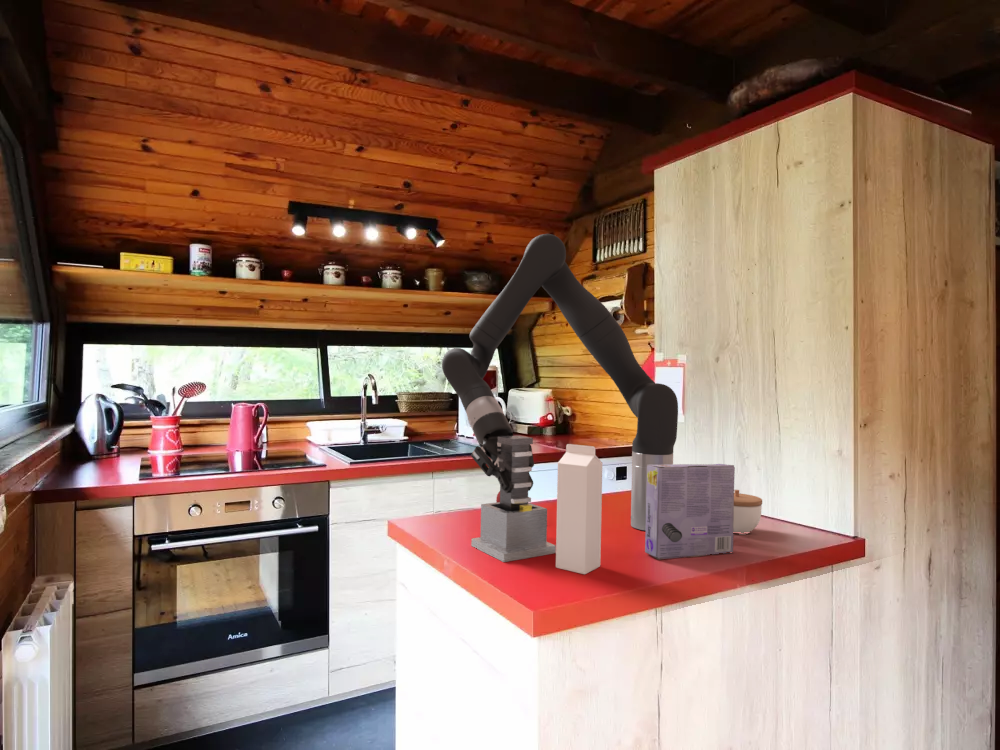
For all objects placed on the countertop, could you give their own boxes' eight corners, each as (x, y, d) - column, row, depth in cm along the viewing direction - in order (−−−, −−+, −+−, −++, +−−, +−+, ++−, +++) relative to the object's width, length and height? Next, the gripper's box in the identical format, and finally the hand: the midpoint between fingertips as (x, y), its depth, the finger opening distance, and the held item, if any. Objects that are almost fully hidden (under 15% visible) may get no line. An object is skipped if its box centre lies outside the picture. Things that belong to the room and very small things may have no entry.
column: (516, 530, 123) (518, 435, 123) (532, 536, 118) (534, 438, 118) (495, 533, 120) (497, 436, 120) (511, 539, 115) (513, 439, 116)
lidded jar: (763, 529, 140) (764, 488, 140) (759, 539, 131) (760, 496, 131) (714, 523, 145) (715, 484, 145) (707, 533, 136) (708, 491, 136)
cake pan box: (721, 546, 125) (723, 460, 125) (739, 553, 120) (741, 464, 120) (642, 554, 118) (644, 463, 118) (657, 561, 114) (659, 467, 114)
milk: (571, 560, 113) (574, 442, 114) (601, 566, 110) (603, 445, 110) (554, 568, 108) (557, 444, 109) (584, 575, 105) (587, 447, 105)
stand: (520, 538, 128) (521, 493, 128) (555, 553, 117) (556, 504, 118) (471, 545, 121) (472, 498, 121) (503, 562, 111) (504, 510, 111)
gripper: (465, 411, 122) (496, 481, 112) (523, 410, 130) (557, 475, 119) (452, 435, 126) (481, 504, 116) (509, 432, 134) (541, 497, 124)
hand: (519, 489), depth 118 cm, fingers closed on column, 4 cm apart
